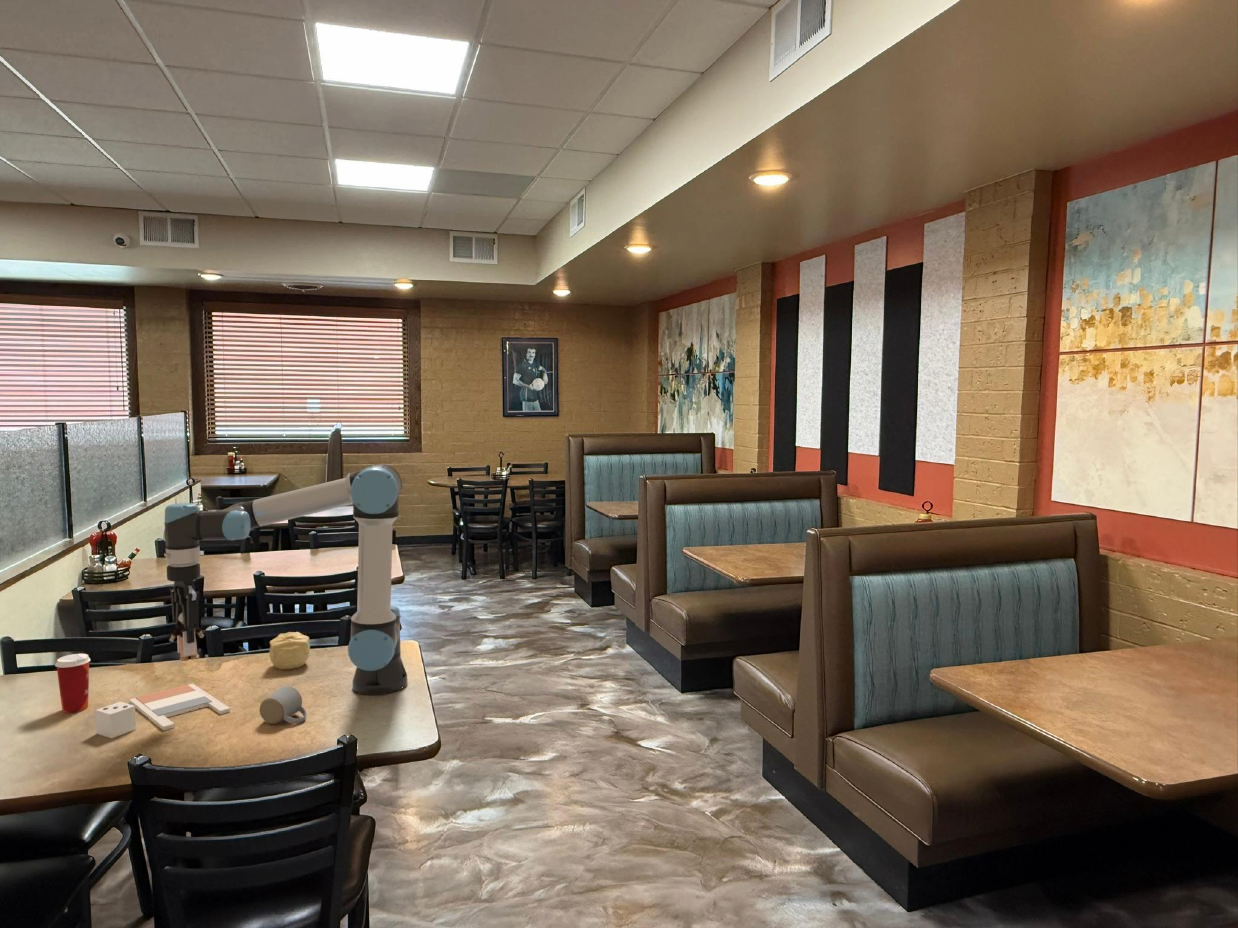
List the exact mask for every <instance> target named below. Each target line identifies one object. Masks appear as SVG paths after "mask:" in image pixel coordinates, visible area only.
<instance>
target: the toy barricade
mask: <svg viewBox="0 0 1238 928" xmlns="http://www.w3.org/2000/svg"><path fill="white" fill-rule="evenodd" d="M129 704H130V705H134V706H135V710H137V711H139V712H140V713H141V714H142V715H144V716H145V717H146V718H147V717H148V718H147V719H148V720H149V721H151V722H152V723H153V724H155V725H156V726H157V727H158V728H160V730H162V731H167V730H170V729H174V728H175V723H174V722H173V721H171V720H170V719H169V718H171V717H175V716H178V714H179V715H181V714H182V715H183V714H185V713H189V711H190V712H193V711H196V710H200V709H199V708H201V709H203V708H210V709H211V708H212V709H211V710H213V711H214V712H215V713H217V714H219V715H224V714H227V713H231V708H230V706H228V705H226V704H225V703H224V702H222V701H220V700H219V699H217V698H215V697H214V696H213V695H210V694H209V693H207V692H206V691H205V690H203V689H202V688H201V687H198V685H195V684H194V683H191V684H184V685H181V686H177V687H173V688H168V689H165V690H160V691H156V692H152V693H148V694H144V695H139V696H136V697H134V698H129Z"/></svg>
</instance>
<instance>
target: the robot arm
mask: <svg viewBox="0 0 1238 928" xmlns="http://www.w3.org/2000/svg"><path fill="white" fill-rule="evenodd" d="M402 489H403V481H402V477H401V475H400V473H399V472H398V470H397V469H395V468H394V467H392V466H391V465H389V464H385V463H376V464H372V465H369V466H368V467H365V468H363V469H360V470H356V471H354V472H349V473H348V474H347V476H346V477H343V478H340V479H336V480H332V481H331V480H330V481H328V482H327V481H326V482H323V483H319V484H315V485H311V486H307V487H302V488H299V489H295V490H290V491H286V492H282V493H277V494H273V495H269V496H266V497H262V498H258V499H253V500H249V501H245V502H242V501H241V502H237V503H234V504H231V505H230V506H228V507H227V508H224V509H221V510H214V511H211V510H210V511H204V510H200V509H199V506H198V505H197V504H196V503H194V502H192V503H191V502H190V503H189V502H179V503H172V504H169V505H168V504H167V506H166V507H165V509H164V522H163V525H164V535H165V552H164V554H163V555H164V557H165V558H166V561H165V562H166V564H167V566H166V579H167V581H169V582H173V584H172V585H169V592H170V600H171V612H172V613H171V614H172V616H171V617H172V623H173V624H175V627H176V628H177V627H179V626H182V625H184V629H182V630H181V631H182V632H183V654H184V656H188V655H192V654H196V645H197V642H196V643H195V639H196V632H195V629H197V628H199V629H200V616H199V615H200V614H199V613H200V611H199V610H200V606H199V605H200V604H199V603H200V591H196V586H195V584H194V581H195V580H197V579H199V578H200V577H201V564H200V563H199V562H200V561H201V554H200V553H201V550H200V549H201V548H200V541H201V542H202V541H235V540H237V541H238V540H239V541H240V540H245V539H246V538H248V537H249V535H250V532H251V530H252V529H256V528H260V527H263V526H268V525H271V524H277V523H280V522H285V521H288V520H293V519H296V518H301V517H304V516H309V515H313V514H317V513H321V512H325V511H329V510H333V509H334V510H335V509H338V508H342V507H346V506H350V505H352V517H353V519H354V520H356V522H357V523H358V546H357V547H358V549H357V550H358V551H357V552H358V554H357V556H358V557H357V558H358V559H357V561H358V562H357V605H356V606H357V609H356V612H355V613H354V614H353V615H352V616H351V617H350V621H351V623H350V624H351V625H350V640H349V643H348V645H347V654H348V658H349V660H350V661H351V663H352V664H353V665H354V666H356V668H355V672H354V675H353V678H352V690H353V691H354V692H355V693H358V694H361V695H367V694H372V695H371V696H374V695H375V694H378V695H385V694H384V693H386V694H390V693H394V692H393V691H395V692H397V691H396V690H398V691H400V690H402V689H403V688H402V687H404V686H405V685H406V684H407V685H408V674H407V670H406V669H405V665H404V663H403V660H402V657H401V652H402V651H401V618H402V617H401V611H400V608H399V607H398V606H394V605H392V561H393V560H392V557H393V524H394V522H395V521H396V520H398V518H399V515H400V514H399V508H400V507H399V506H400V495H401V492H402ZM182 612H183V622H184V624H182V623H181V622H180V621H179V619H178V617H179V615H180V614H181V613H182ZM176 637H177V638H176V639H177V640H176V641H177V642H176V644H177V654H180V642H179V641H180V640H179V639H180V635H178V636H176ZM188 657H189V656H188ZM407 685H406V686H407ZM406 686H405V687H406ZM405 687H404V688H405ZM401 688H402V689H401ZM399 689H400V690H399ZM373 694H374V695H373Z"/></svg>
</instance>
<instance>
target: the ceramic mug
mask: <svg viewBox="0 0 1238 928" xmlns="http://www.w3.org/2000/svg"><path fill="white" fill-rule="evenodd" d="M298 712H299V713H300V714H301V715H303V716H302V717H299V718H298V717H297V718H294V717H292V716H294V715H295V714H296V713H298ZM259 714H260V717H261V718H262V719H263V721H264V722H266V723H267V724H269V725H277V724H280V723H282V722H283V721H285V722H287V723H290V724H296V725H297V724H301V723H303V722H304V721H305V720H306V718H307V715H308V713H307V709H305V708H304V707H303V698H302V694H301V693H300V692H299V690H298V689H296V688H295V687H293V686H291V685H283V686H281V687H279V688H278V689H276V690H275V691H274V692H272V693H271V694H270V695H268V696H267V697H266V698H264V699H263V700H262V702H261V703H260V705H259Z"/></svg>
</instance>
